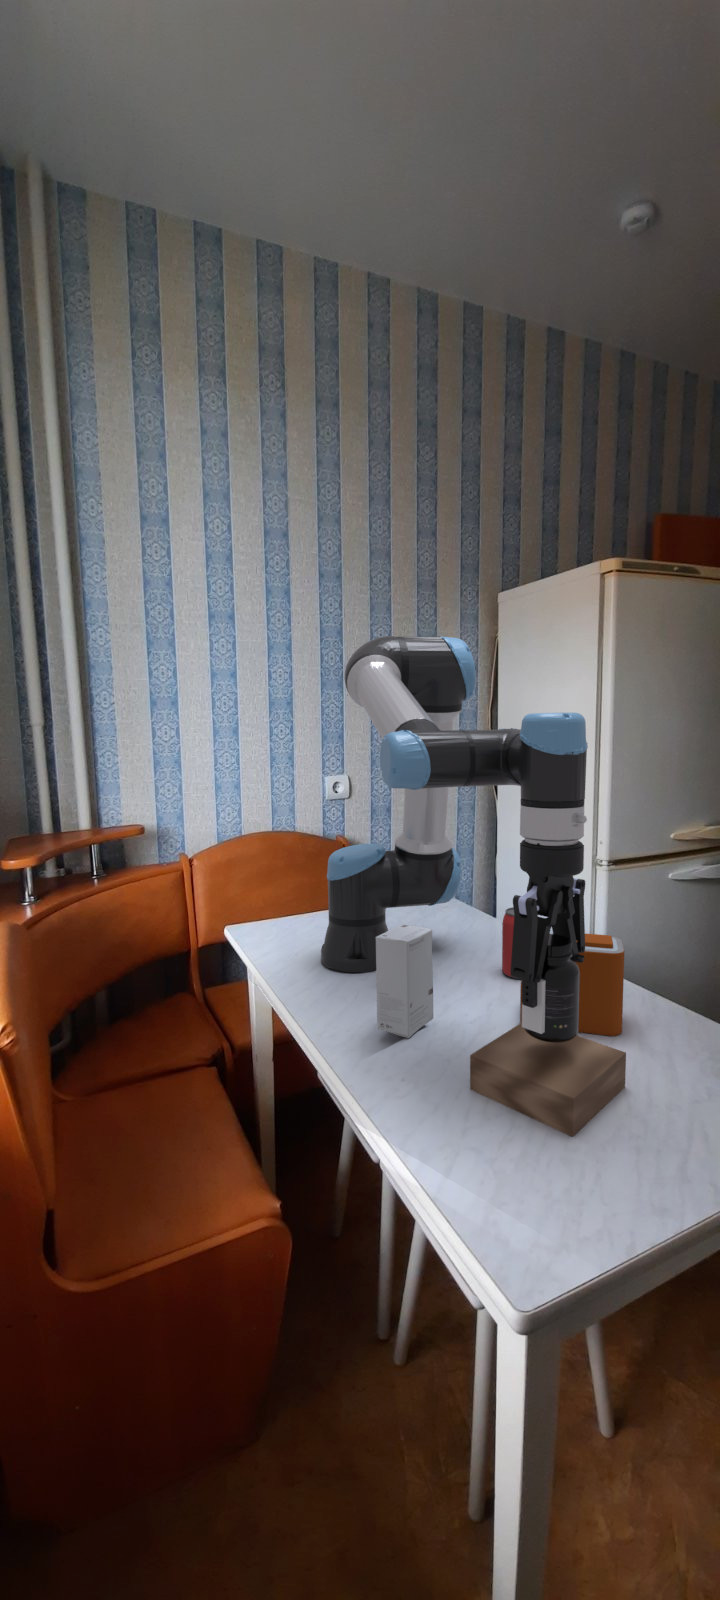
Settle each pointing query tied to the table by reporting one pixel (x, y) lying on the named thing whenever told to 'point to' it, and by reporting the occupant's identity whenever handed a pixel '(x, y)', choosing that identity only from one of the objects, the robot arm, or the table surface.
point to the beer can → (507, 940)
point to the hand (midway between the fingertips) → (548, 1019)
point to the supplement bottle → (560, 992)
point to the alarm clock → (600, 986)
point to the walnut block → (549, 1077)
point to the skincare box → (404, 979)
